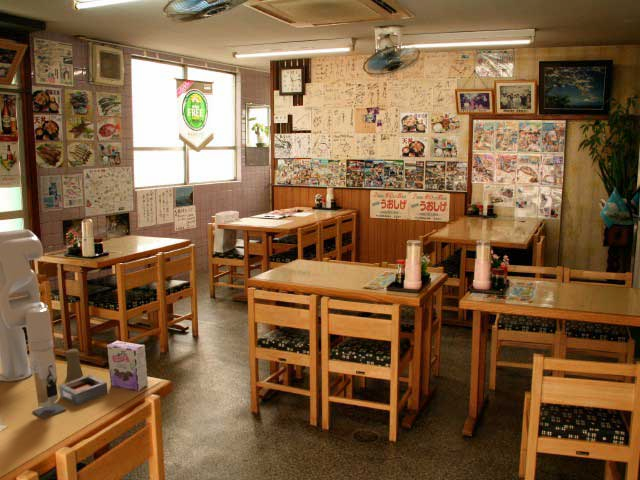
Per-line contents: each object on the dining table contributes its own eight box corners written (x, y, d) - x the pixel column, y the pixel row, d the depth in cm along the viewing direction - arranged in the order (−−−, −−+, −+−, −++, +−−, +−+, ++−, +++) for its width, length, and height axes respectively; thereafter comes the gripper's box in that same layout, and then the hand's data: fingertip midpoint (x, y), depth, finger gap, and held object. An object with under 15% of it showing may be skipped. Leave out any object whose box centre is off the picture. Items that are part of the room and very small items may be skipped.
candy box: (110, 386, 228) (105, 344, 225) (121, 380, 234) (117, 339, 231) (138, 391, 223) (134, 349, 219) (149, 385, 228) (145, 344, 225)
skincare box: (46, 398, 212) (42, 366, 209) (58, 398, 211) (54, 365, 209) (37, 407, 205) (33, 373, 203) (50, 407, 205) (45, 373, 203)
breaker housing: (59, 397, 220) (58, 385, 219) (90, 385, 229) (89, 374, 228) (76, 406, 212) (75, 394, 211) (107, 394, 221) (106, 382, 221)
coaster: (32, 412, 209) (32, 411, 208) (55, 404, 215) (54, 402, 214) (43, 419, 203) (43, 417, 203) (66, 410, 209) (66, 408, 209)
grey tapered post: (77, 379, 235) (74, 353, 233) (63, 378, 236) (60, 352, 234) (86, 373, 241) (83, 347, 239) (72, 372, 242) (69, 346, 240)
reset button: (70, 395, 220) (69, 390, 220) (88, 389, 226) (87, 384, 225) (80, 400, 216) (79, 395, 215) (98, 394, 221) (97, 388, 221)
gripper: (18, 342, 207) (24, 390, 210) (42, 352, 196) (48, 403, 199) (40, 335, 213) (45, 383, 216) (64, 346, 202) (70, 395, 205)
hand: (47, 392), depth 208 cm, fingers closed on skincare box, 7 cm apart
